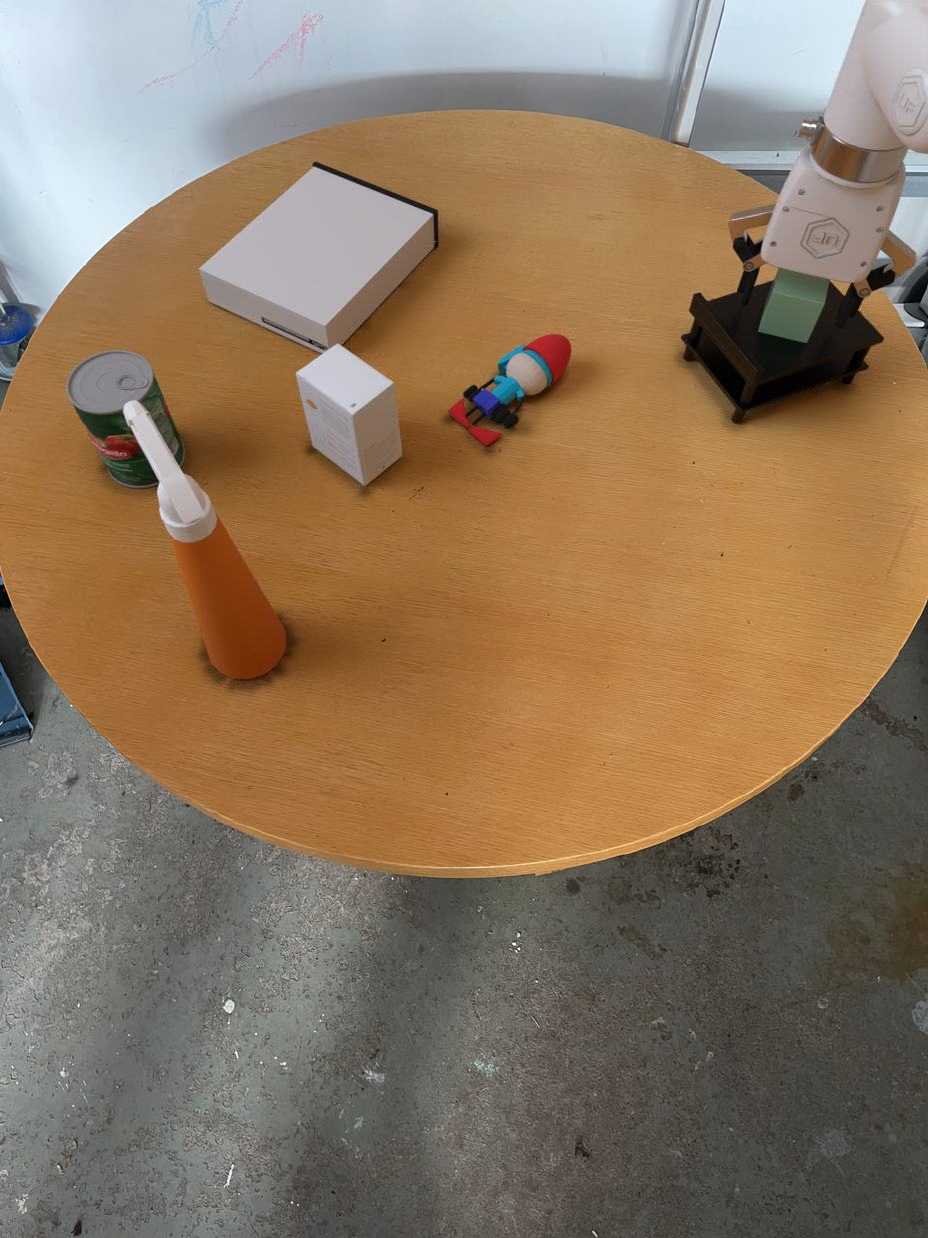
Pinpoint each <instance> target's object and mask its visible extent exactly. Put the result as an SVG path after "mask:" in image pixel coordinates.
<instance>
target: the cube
mask: <svg viewBox="0 0 928 1238" xmlns="http://www.w3.org/2000/svg"><path fill="white" fill-rule="evenodd" d="M773 280H774V281H773V284H772V286H771V289H770V292H769V294H768V297H767V300H766V303H765V307H764V311H763V315H762V319H761V322H760V326H759V330H758V332H761V333H766V334H770V335H774V336H778V337H782V338H787V339H791V340H795V341H799V342H803V343H807V342H808V340H809V338H810V335H811V333H812V331H813V329H814V327H815V324H816V322H817V320H818V318H819V316H820V313H821V311H822V309H823V307H824V305H825V301H826V296H827V291H828V286H829V281H831V280H829V279H824V278H820V277H815V276H811V275H806V274H802V273H798V272H793V271H789V270H785V269H781V268H777V271H776V273H775V276H774V279H773Z"/></svg>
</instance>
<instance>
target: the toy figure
mask: <svg viewBox="0 0 928 1238" xmlns="http://www.w3.org/2000/svg"><path fill="white" fill-rule="evenodd" d="M572 351H573V350H572V344H571V342H570V340H569V339H568V338H567V337H566V336H565V335H563V334H559V333H551V334H545V335H542V336H540V337H538V338H536V339H533V340H532V341H531V342H529V343H527V344H526V345H525V344H522V343H521V344H520V345H519V346H517V347H515V348H513V349H512V350H511V351H510V352H508V353H507V354H505V355H504V356H503V357H501V358H500V359H499V361H498V363H497V367H498V368H497V369H498V373H499V375H498V374H495V376H494V377H492V378H491V379H490V380H488V381H487V382H485V383H484V384H482V385H481V386H479V387H478V385H476V384H471V385H470V386H469V387H468V388H467V389H465V390H464V391H463V392H462V398H461V399H459V400H458V401H457V402H456V403H454V404H453V405H452V406H451V407H450V408H449V409H448V413H449V414H450V415H451V416H452V417H453V418H454V419H455V420H456V421H457V422H458V423H459V424H461V425H463V426H464V427H466V428H468V430H469V432H470V433H471V434H472V435H473V437H474V438H476V439H477V440H478V441H479V442H480V443H482V444H483V445H484V446H486V447H487V446H489V445H491V444H493V443H494V442H495V441H496V440H497V439H499V438H500V437H501V436H502V435H503V434H504V432H498V431H494V430H490V429H487V428H483V427H479V426H477V424H478V423H479V422H480V421H482V420H483V419H484V418H485V417H486V418H488V419H489V420H490V419H492V418H494V419H495V421H496V423H497V424H498V425H503V427H504V428H505V429H507V430H511V429H512V428H513V427H514V426H516V425H517V424H518V423H519V420H520V419H519V418H520V417H519V415H518V414H516V413H519V411H520V409H521V407H522V405H523V404H524V402H525V400H526V398H525V396H534V395H538V394H540V393H541V392H542V391H544V390H545V389H547V388H549V387H550V386H552V385H553V384H555V382H556V381H557V380H558V379H560V377H561V376H562V375H563V374H564V372H565V370H566V369H567V367H568V365H569V363H570V360H571V357H572ZM503 374H504V376H502V375H503ZM493 383H494V385H497V386H496V387H495V388H494V389H492V390H491V391H489V390H488V389H486V388H488V387H489V386H490V385H492V384H493ZM516 398H517V399H518V402H519V403H518V404H517V406H516V408H515V410H513V411H512V412H511V410H510V409H509V408H508V406H507V405H509V404H510V403H511V402H512V401H513V400H514V399H516ZM465 399H467V401H468V402H470V403H472V405H473V407H472V408H471V409H470V410H469V411H467V410H466V407H465ZM475 411H479V412H480V413H481V414H479V416H478V417H476V418H475V419H474V421H472V422H471V425H470V421H469V417H470V416H471V415H472V414H473V413H474V412H475Z"/></svg>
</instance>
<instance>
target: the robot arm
mask: <svg viewBox="0 0 928 1238" xmlns="http://www.w3.org/2000/svg"><path fill="white" fill-rule="evenodd" d="M851 36H852V37H851V39H850V42H849V44H848V47H847V50H846V53H845V55H844V58H843V61H842V63H841V66H840V69H839V71H838V75H837V77H836V80H835V82H834V85H833V87H832V90H831V93H830V97H829V98H828V102H827V104H826V107H824V110H823V114H822V116H821V115H819V116H818V117H817V119H812V120H809V119H805V118H804V119H803V120H802V123H801V125H800V128H799V131H798V133H797V134H798V135H797V137H798V138H801V139H805V141H808V143H807V144H805V145H804V147H803V148H802V150H801V152H800V153H799V155H798V156H797V158H796V160H795V162H794V163H793V165H792V168H791V169H790V172H789V174H788V175H787V177H786V179H785V182H784V184H783V186H782V188H781V190H780V193H779V196H778V197H777V199H776V202H775V203H772V204H768V205H763V206H760V207H755V208H751V209H745V210H740V211H736V212H733V213H732V214H731V215H730V217H729V220H728V224H727V227H728V231H729V235H730V239H731V241H732V249H733V251H734V252H735V254H736V256H737V257H738V259H739V260H740V262H741V263H742V269H743V271H742V273H741V277H740V279H739V283H738V286H737V288H736V289H737V290H736V292H741V293H743V296H742V299H741V303H740V306H744V307H745V305H746V306H747V305H748V302H749V299H750V296H751V294H752V291H753V288H754V286H756V282H757V280H758V278H759V277H758V276H759V273H760V269H761V267H762V266H763V265H765V264H767V265H769V266H770V267H774V268H777V269H778V268H781V269H785V270H789V271H793V272H798V273H802V274H806V275H811V276H815V277H820V278H824V279H829V280H830V281H834V282H839V283H845V284H849V285H848V288H847V290H846V292H845V294H844V298H843V300H842V303H841V305H840V307H839V310H838V315H837V320H836V325H835V326H836V327H837V328H838V329H843V327H844V325H845V323H846V321H847V319H848V317H849V318H854V317H855V315H856V313H857V311H859V309H860V307H861V306H862V304H863V302H864V300H865V299H866V298H868V297H870V296H871V295H872V293H873V292H875V291H877V290H880V289H883V288H884V287H887V286H889V285H892V284H893V283H894V282H895V280H896V279H897V278H899V277H901V276H902V275H904V274H905V273H906V272H908V271H909V270H911V269H912V268H913V267H914V266H915V265H916V263H917V261H916V260H917V252H916V251H915V250H914V249H913V248H912V247H910V246H909V245H908V244H906V243H905V241H904V240H902V239H901V238H900V237H899V236H897V235H896V234H895V233H894V232H893V231H892V230H890V227H891V224H892V222H893V220H894V217H895V214H896V212H897V210H898V206H899V203H900V200H901V197H902V193H903V191H904V186H905V183H906V178H907V177H906V165H905V162H904V161H905V158H906V156H907V153H908V151H909V150H911V151H913V152H915V153H917V154H922V155H928V0H865V1H864V3H863V6H862V8H861V11H860V15H859V17H858V20H857V22H856V26H855V28H854V31H853V33H852V35H851ZM764 226H766V230H765V233H764V236H763V237H761V238H759V239H758V240H756V241H753V239H752V238H751V236H750V235H749V233H748V232H747V230H748V229H754V228H759V227H764ZM880 251H881V252H883V253H884V254H885V255H886V256H887V257H888V258H890V259H891V261H890V262H888V263H886V264H883V265H881V266H879V267H876V268H873V267H874V266H875V263H876V260H877V258H878V256H879V254H880Z"/></svg>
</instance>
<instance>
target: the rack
mask: <svg viewBox="0 0 928 1238" xmlns="http://www.w3.org/2000/svg"><path fill="white" fill-rule="evenodd" d="M773 281H774V279H773V280H770V281H766V282H763V283H760V284H757V285H756V284H755V285H754V288H753V291H752V294H751V296H750V299H749V302H748V305H747V306H746V305H745V307H744V306H740V303H741V299H742V296H743V293H741V292H737V291H735V292H732V293H728V294H725V295H722V296H719V297H716V298H712V299H710V300H707V299H706V298H705V296H704V295H703V293H701V292H696V293H693V296H692V299H691V301H690V305H689V309H688V311H689V313H690V314H691V316H692V317H693V322H692V324H691V328H690V331H689V332H686V333H683V334H681V336H680V340H681V341H682V342H683V343H684V345H685V348H684V352H683V355H682V358H683V360H684V361H686V362H692V361H694V359H696V360H697V362H698V363H699V364H700V365H701V367H703V369H704V370H705V372H706V373H707V374H708V375H709V377H710V378H711V379H712V380H713V381H714V383H715V384H716V385H717V387H718V388H719V389H720V390H721V392H722V393H723V394H724V395H725V396H726V398H727V400H728V401H729V402H730V403H731V404H732V406H733V407H734V408H735V409H734V411H733V414H732V416H731V421H732V422H733V423H734V424H736V425H740V424H742V423H743V422H744V419H745V417H746V415H747V413H749V412H752V411H754V410H756V409H759V408H762V407H765V406H768V405H770V404H771V405H772V404H774V403H776V402H779V401H782V400H784V399H788V398H791V397H793V396H796V395H799V394H802V393H805V392H808V391H811V390H812V389H816V388H818V387H819V388H820V387H821V386H825V385H827V384H830V383H833V382H835V381H839V380H840V382H841V384H843V385H845V386H850V385H851V384H852V383H853V381H854V379H855V378H856V376H857V374H859V373H861V372H864V371H867V370H868V369H869V367H870V365H869V364H868V363H867V362H866V360H865V359H866V358H867V356H868V354H869V352H870V351H871V349H872V347H873V346H877V345H878V344H882V343H883V342H884V340H885V337H884V335H882V334H881V332H879V330H878V329H877V328H876V327H875V326H874V325H873V324H872V323H871V322H870V321H869V319H867V318H866V317H865V315H863V314H862V312H861V311H859V310H858V311H857V313H856V315H855V317H854V318H849V317H848V319H847V321H846V323H845V325H844V327H843V329H838V328H837V327H836V326H835V325H836V320H837V315H838V310H839V307H840V305H841V303H842V300H843V298H844V296H845V294H843V292H841V290H840V289H839V288H838V287H837V286H836V285H835V284H834V283H833V282H832V280H830V281H829V286H828V291H827V296H826V301H825V305H824V307H823V309H822V311H821V313H820V316H819V318H818V320H817V322H816V324H815V327H814V329H813V331H812V333H811V335H810V338H809V340H808V342H807V343H803V342H799V341H795V340H791V339H787V338H782V337H778V336H774V335H770V334H766V333H761V332H758V330H759V326H760V322H761V319H762V315H763V311H764V307H765V303H766V300H767V297H768V294H769V292H770V289H771V286H772V284H773Z"/></svg>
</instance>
